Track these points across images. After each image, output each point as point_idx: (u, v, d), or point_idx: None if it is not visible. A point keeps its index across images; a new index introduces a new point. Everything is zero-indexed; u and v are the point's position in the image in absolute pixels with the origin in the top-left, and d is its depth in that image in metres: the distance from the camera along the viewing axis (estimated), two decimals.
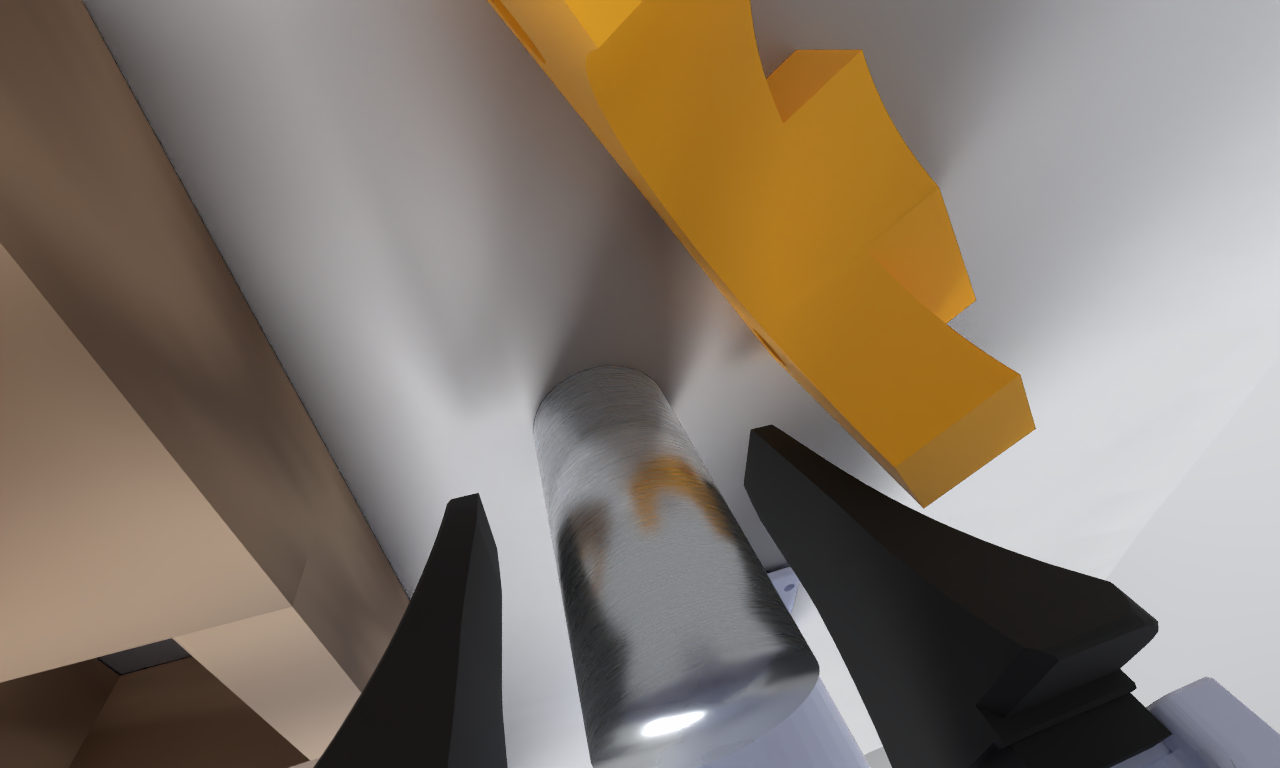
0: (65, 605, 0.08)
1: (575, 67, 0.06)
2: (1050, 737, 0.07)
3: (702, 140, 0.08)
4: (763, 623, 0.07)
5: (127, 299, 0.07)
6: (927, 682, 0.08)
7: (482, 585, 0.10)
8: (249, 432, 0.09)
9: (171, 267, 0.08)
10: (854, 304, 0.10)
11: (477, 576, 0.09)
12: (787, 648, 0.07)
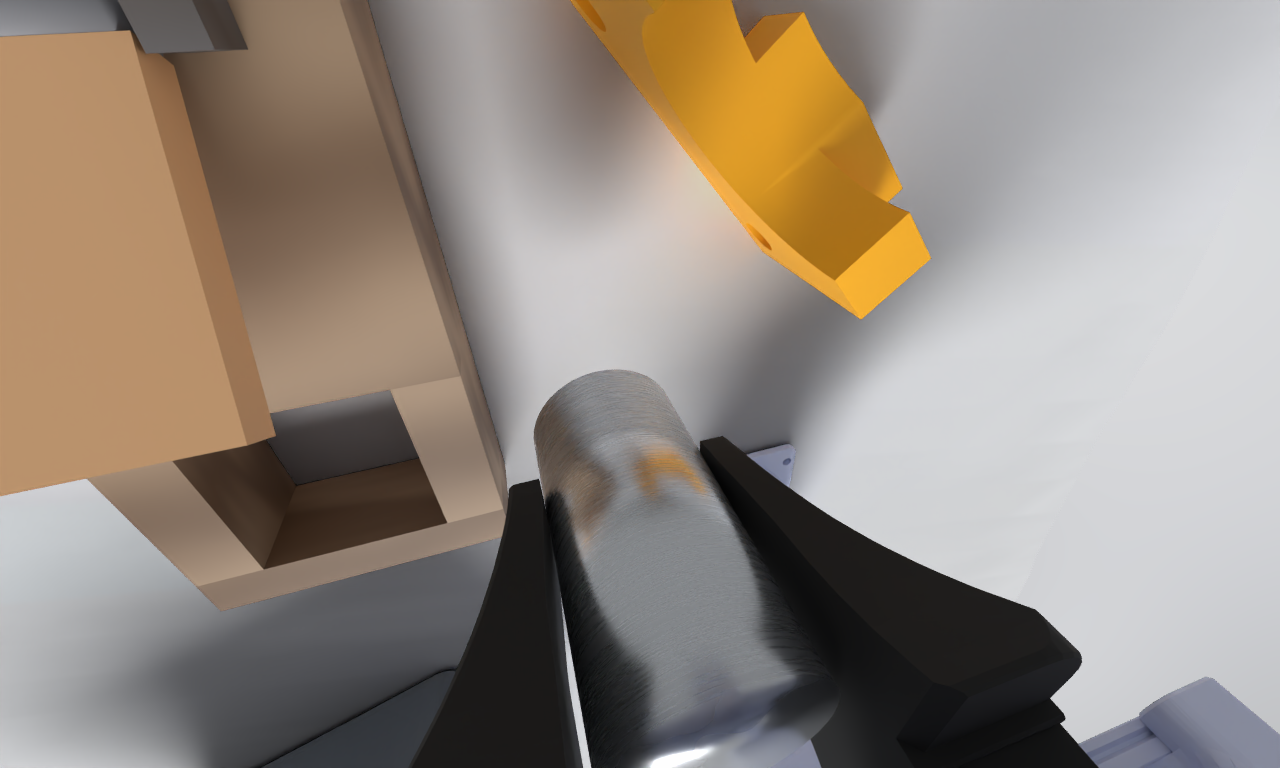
0: (341, 352, 0.13)
1: (634, 27, 0.11)
2: None
3: (703, 75, 0.13)
4: (782, 650, 0.07)
5: (397, 154, 0.12)
6: (855, 710, 0.08)
7: (550, 566, 0.10)
8: (434, 261, 0.14)
9: (402, 146, 0.13)
10: (810, 185, 0.15)
11: (547, 557, 0.10)
12: (809, 677, 0.07)
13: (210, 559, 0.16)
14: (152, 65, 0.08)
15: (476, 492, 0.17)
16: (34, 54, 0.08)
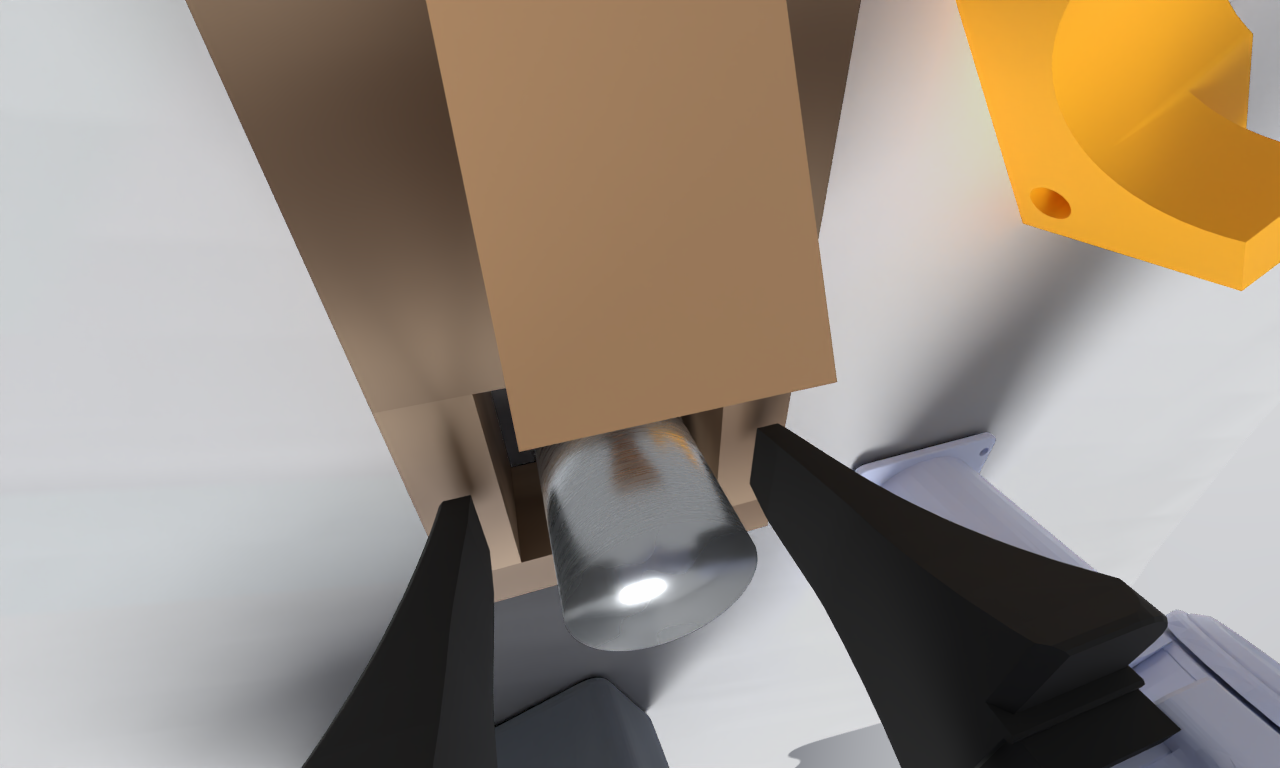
0: None
1: None
2: (1060, 733, 0.07)
3: None
4: (709, 506, 0.09)
5: None
6: (936, 678, 0.08)
7: (473, 587, 0.10)
8: None
9: None
10: (1177, 135, 0.13)
11: (468, 578, 0.09)
12: (728, 525, 0.09)
13: None
14: None
15: None
16: None
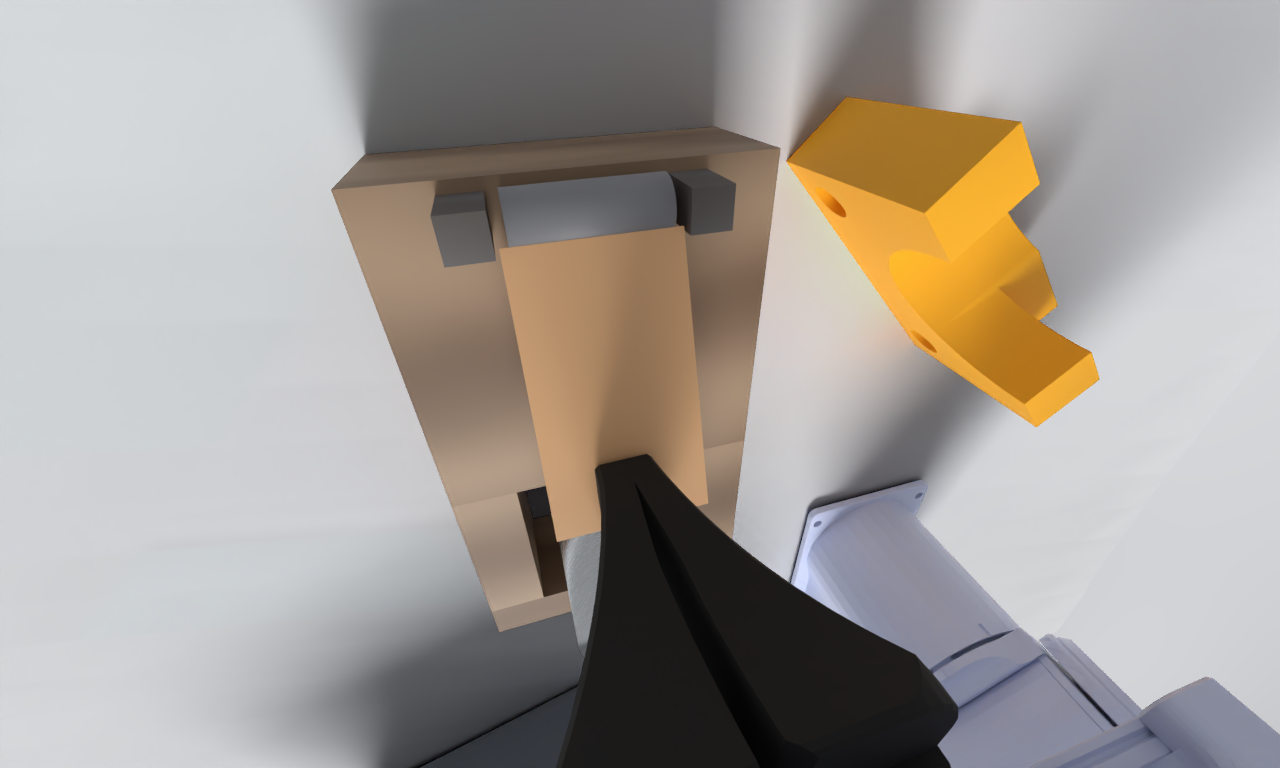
0: None
1: (899, 243, 0.14)
2: None
3: None
4: None
5: None
6: None
7: None
8: None
9: None
10: (991, 317, 0.18)
11: None
12: None
13: (511, 589, 0.18)
14: None
15: None
16: (626, 247, 0.11)
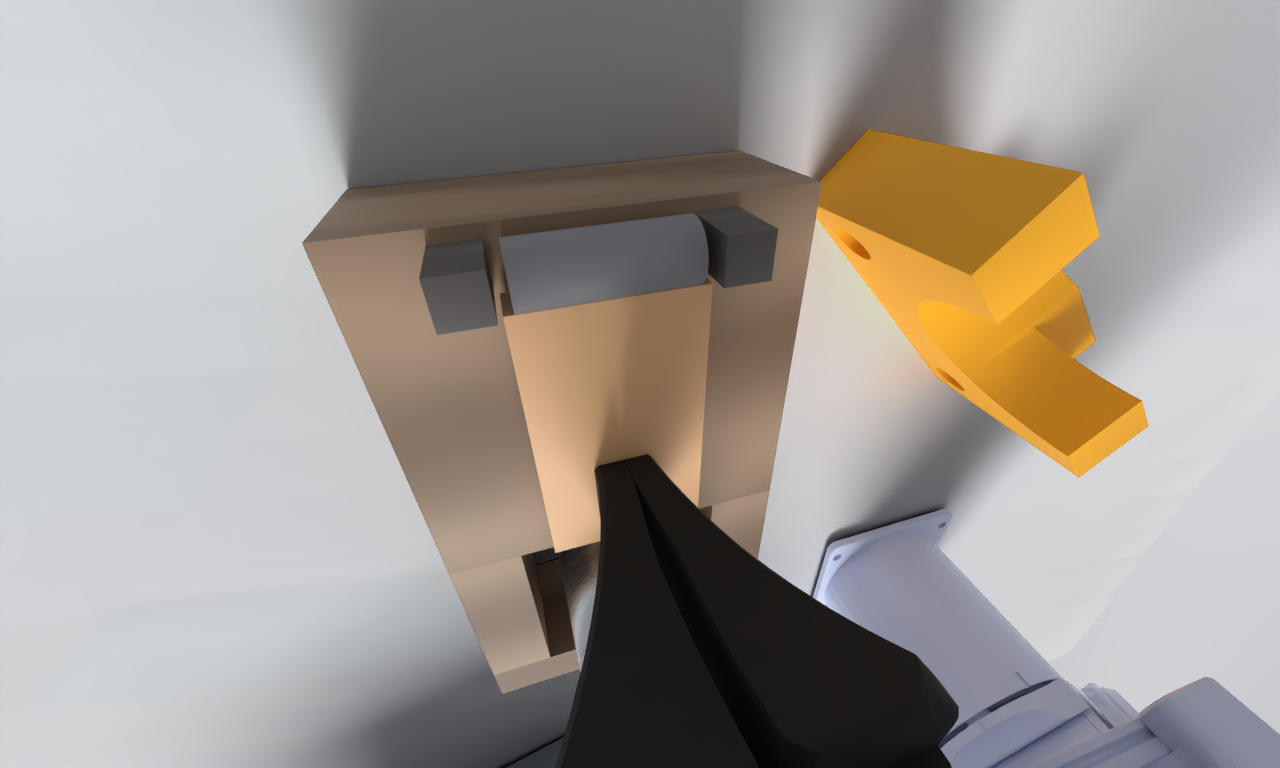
0: None
1: (933, 295, 0.13)
2: None
3: None
4: None
5: None
6: None
7: None
8: None
9: None
10: (1027, 359, 0.17)
11: None
12: None
13: (515, 652, 0.17)
14: None
15: None
16: (646, 307, 0.09)
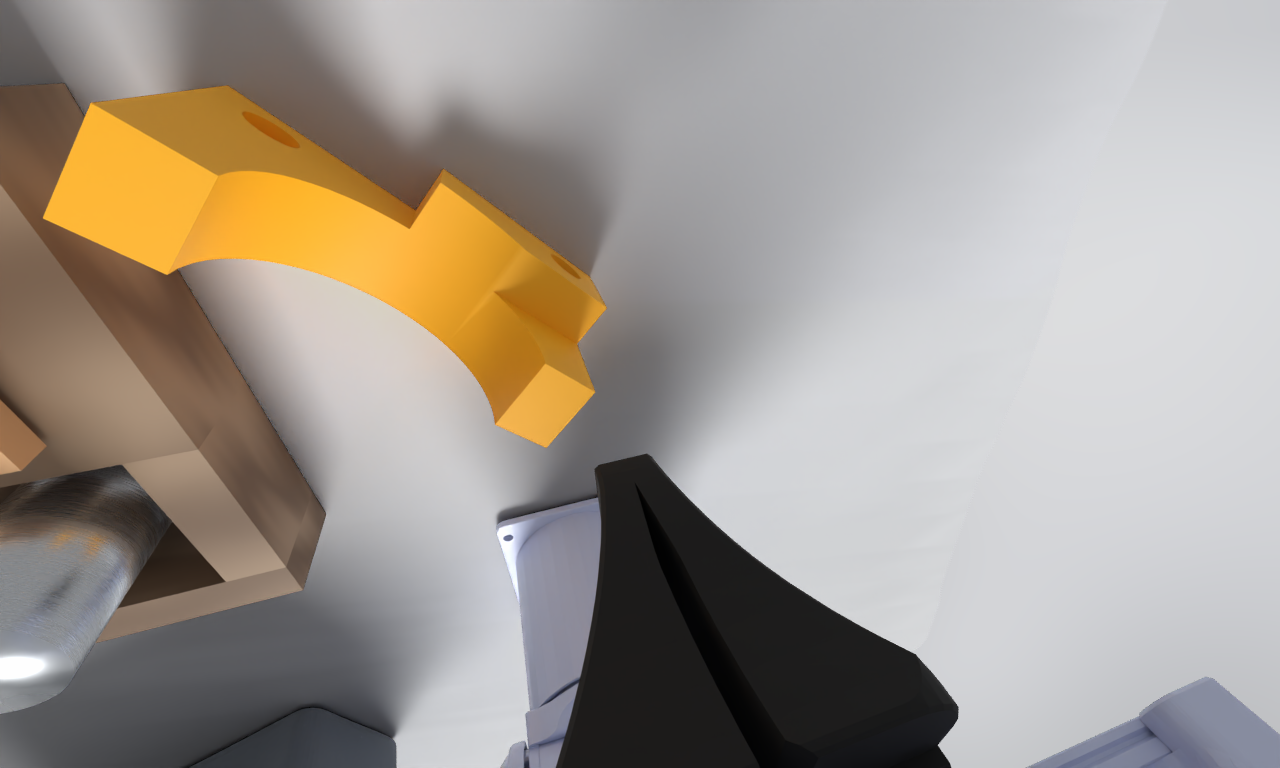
0: (56, 432, 0.14)
1: None
2: None
3: (354, 249, 0.15)
4: None
5: (90, 249, 0.13)
6: None
7: None
8: (170, 339, 0.15)
9: None
10: (492, 325, 0.16)
11: None
12: None
13: None
14: None
15: (249, 553, 0.18)
16: None
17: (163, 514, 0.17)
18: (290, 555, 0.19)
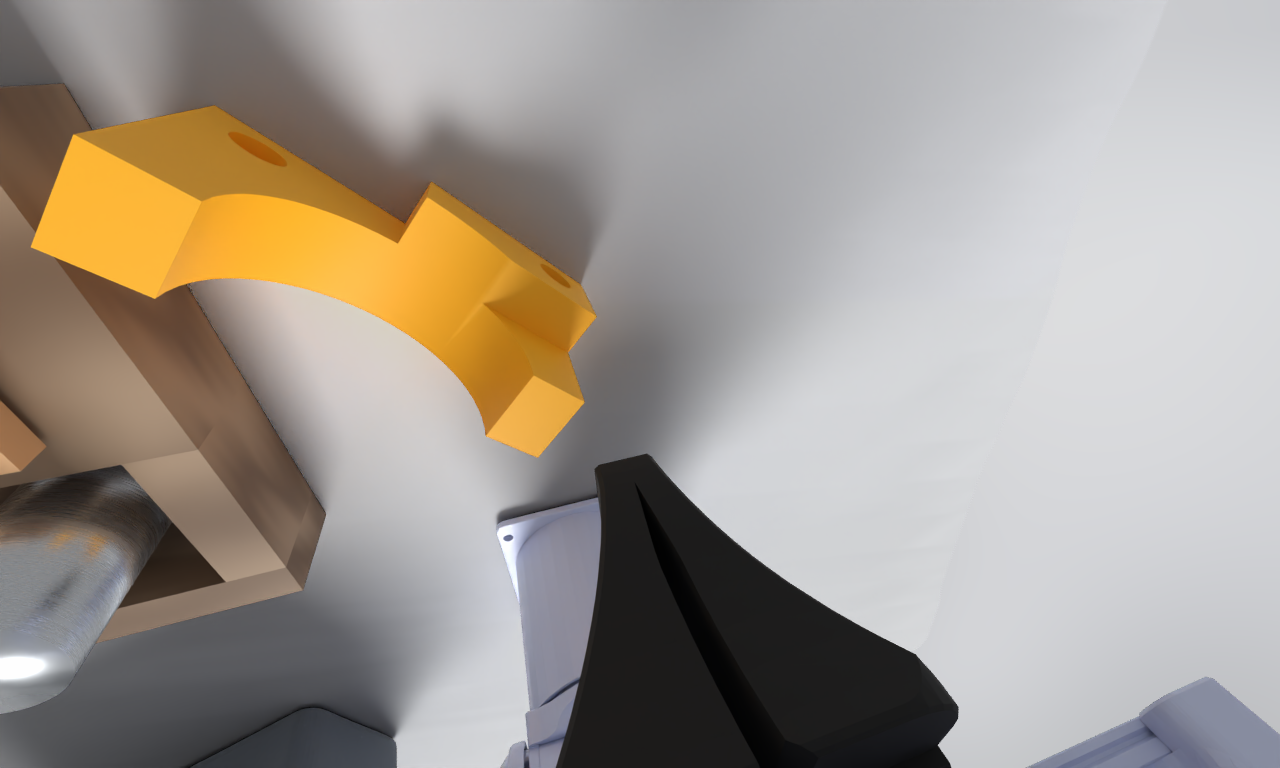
0: (55, 433, 0.14)
1: None
2: None
3: (343, 265, 0.15)
4: None
5: None
6: None
7: None
8: (170, 339, 0.15)
9: None
10: (482, 337, 0.16)
11: None
12: None
13: None
14: None
15: (249, 553, 0.18)
16: None
17: (163, 514, 0.17)
18: (290, 555, 0.19)
